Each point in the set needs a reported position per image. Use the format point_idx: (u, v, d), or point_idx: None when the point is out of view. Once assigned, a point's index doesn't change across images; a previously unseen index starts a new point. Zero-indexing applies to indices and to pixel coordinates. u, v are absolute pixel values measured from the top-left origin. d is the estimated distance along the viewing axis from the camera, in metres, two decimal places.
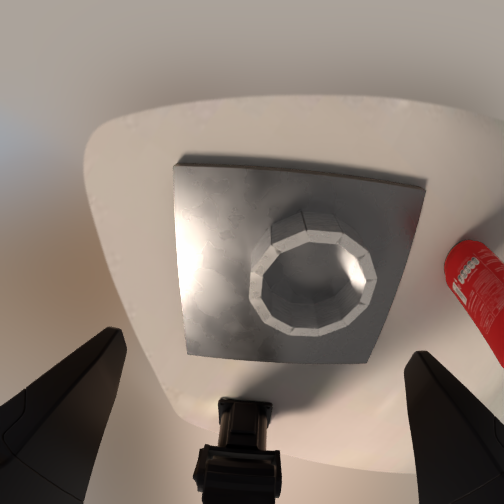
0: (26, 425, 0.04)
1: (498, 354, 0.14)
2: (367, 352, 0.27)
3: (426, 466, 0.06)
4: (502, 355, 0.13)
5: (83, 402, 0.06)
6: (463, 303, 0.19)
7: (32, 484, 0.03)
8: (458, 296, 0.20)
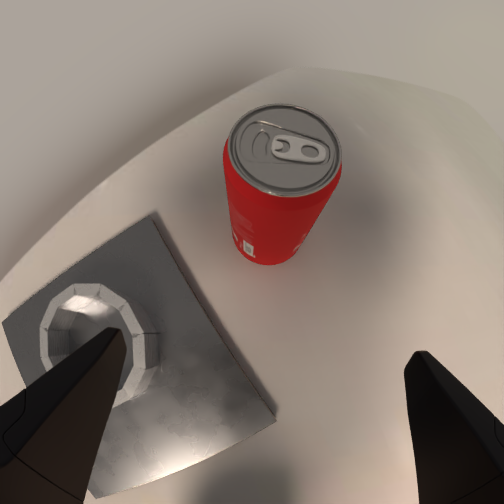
0: (26, 425, 0.04)
1: (255, 208, 0.12)
2: (258, 406, 0.19)
3: (426, 466, 0.06)
4: (248, 199, 0.12)
5: (83, 402, 0.06)
6: (255, 249, 0.18)
7: (32, 484, 0.03)
8: (254, 253, 0.19)
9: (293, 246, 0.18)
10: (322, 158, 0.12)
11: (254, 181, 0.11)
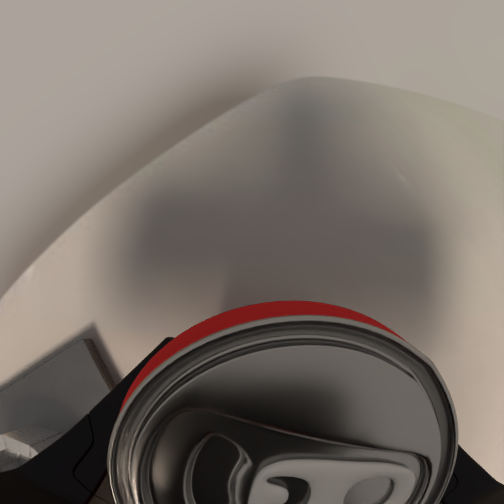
0: (98, 456, 0.04)
1: None
2: None
3: None
4: None
5: None
6: None
7: None
8: None
9: None
10: None
11: None
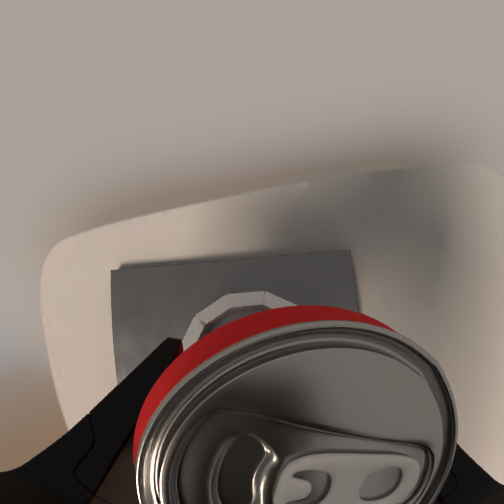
0: (99, 456, 0.04)
1: None
2: None
3: None
4: None
5: None
6: None
7: None
8: None
9: None
10: (407, 495, 0.03)
11: None
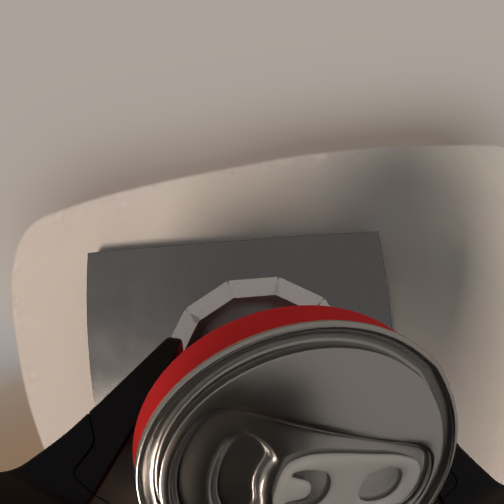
0: (99, 456, 0.04)
1: None
2: None
3: None
4: None
5: None
6: None
7: None
8: None
9: None
10: (407, 495, 0.03)
11: None
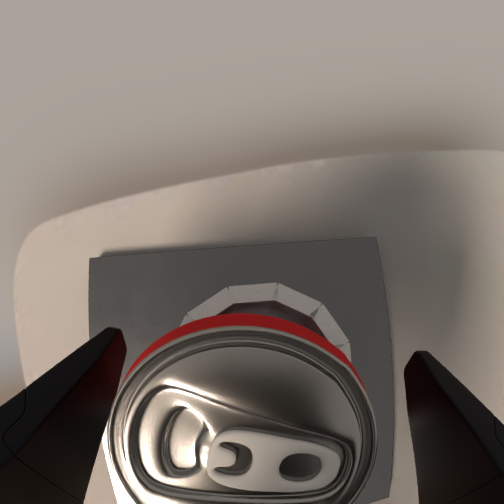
0: (26, 425, 0.04)
1: None
2: (384, 481, 0.14)
3: (426, 466, 0.06)
4: None
5: (83, 402, 0.06)
6: None
7: (32, 484, 0.03)
8: None
9: None
10: (327, 483, 0.04)
11: None
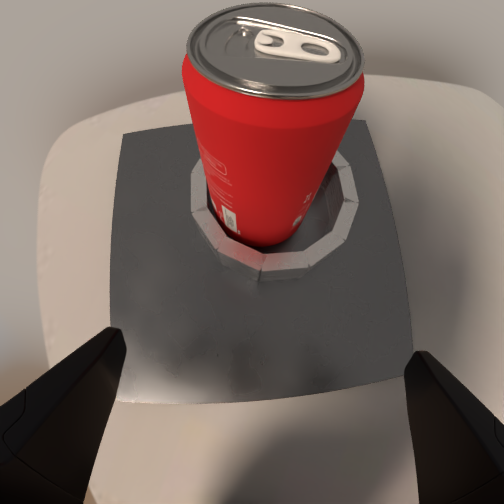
0: (26, 425, 0.04)
1: (226, 129, 0.07)
2: (406, 348, 0.16)
3: (426, 466, 0.06)
4: (213, 111, 0.07)
5: (83, 402, 0.06)
6: (239, 219, 0.13)
7: (32, 484, 0.03)
8: (239, 226, 0.14)
9: (292, 216, 0.13)
10: (335, 57, 0.06)
11: (223, 80, 0.06)
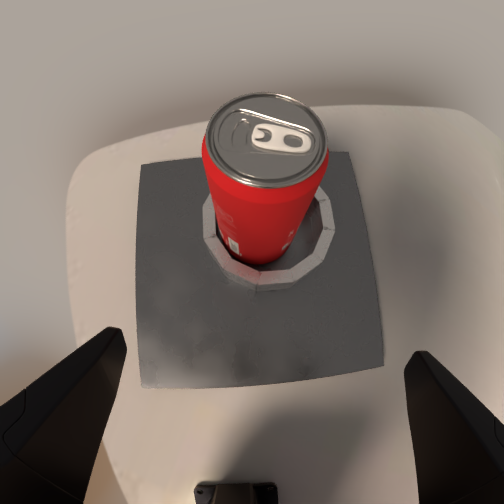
0: (26, 425, 0.04)
1: (233, 200, 0.11)
2: (377, 345, 0.20)
3: (426, 466, 0.06)
4: (225, 190, 0.11)
5: (83, 402, 0.06)
6: (241, 247, 0.17)
7: (32, 484, 0.03)
8: (240, 251, 0.18)
9: (280, 244, 0.17)
10: (307, 148, 0.11)
11: (231, 171, 0.11)
